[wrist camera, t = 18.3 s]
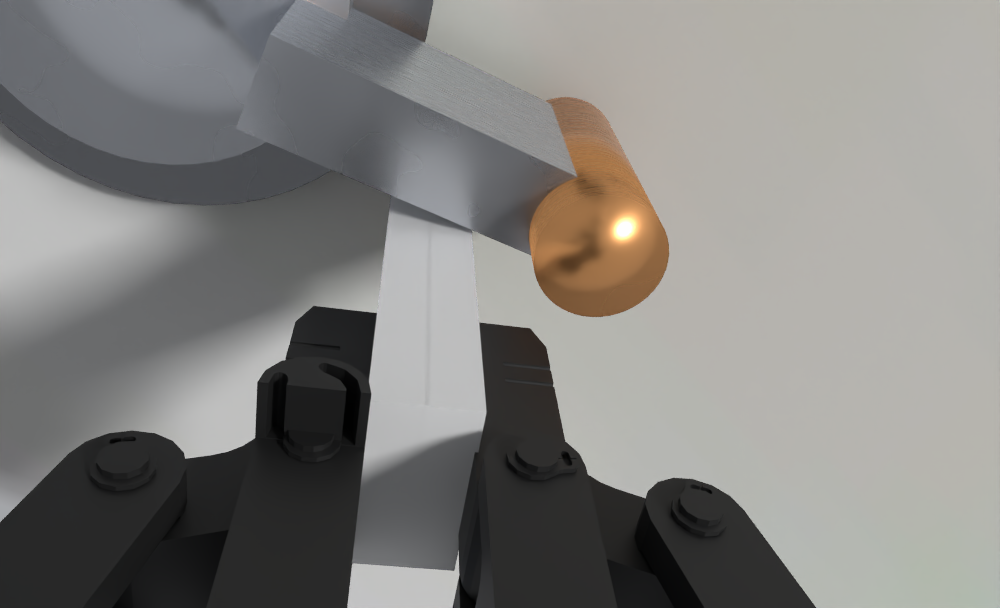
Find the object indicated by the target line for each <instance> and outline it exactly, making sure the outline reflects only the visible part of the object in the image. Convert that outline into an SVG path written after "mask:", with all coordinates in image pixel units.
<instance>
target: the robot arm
mask: <svg viewBox="0 0 1000 608" xmlns="http://www.w3.org/2000/svg"><path fill="white" fill-rule="evenodd" d="M458 550H459V574H460V575H459V580H458V585H457V590H456V595H455V599H454V604H453V608H816V607H815V606H814V604H813V603H812V601H811V600H810V599H809V597H808V596H807V595H806V593H805V592H804V591H803V589H802V588H801V587H800V585H799V584H798V583H797V581H796V580H795V579H794V577H793V576H792V574H791V573H790V572H789V570H788V569H787V568H786V566H785V565H784V564H783V562H782V561H781V560H780V558H779V557H778V556H777V554H776V553H775V552H774V550H773V549H772V547H771V546H770V545H769V543H768V542H767V541H766V539H765V538H764V537H763V535H762V534H761V533H760V531H759V530H758V529H757V527H756V526H755V525H754V523H753V522H752V520H751V519H750V518H749V516H748V515H747V514H746V512H745V511H744V510H743V509H742V508H741V507H740V506H739V505H738V504H737V503H736V502H735V501H734V500H733V499H732V498H731V497H730V496H729V495H727V494H726V493H724V492H722V491H720V490H719V489H717V488H715V487H714V486H712V485H709V484H706V483H703V482H700V481H696V480H693V479H682V478H672V479H668V480H664V481H660V482H658V483H657V484H655V485H654V486H653V487H652V488H651V489H650V490H649V491H648V493H647V496H646V499H645V498H642V497H639V496H636V495H633V494H630V493H627V492H624V491H621V490H618V489H615V488H613V487H610V486H608V485H605V484H603V483H601V482H599V481H597V480H596V479H594V478H592V477H591V476H589V475H588V474H587V470H586V466H585V464H584V462H583V460H582V458H581V456H580V454H579V453H578V452H577V451H576V450H574V449H573V448H572V447H571V446H570V445H569V444H568V443H567V442H565V438H564V433H563V428H562V423H561V419H560V414H559V409H558V404H557V399H556V394H555V389H554V387H553V379H552V374H551V371H550V364H549V359H548V354H547V349H546V347H545V345H544V344H543V343H542V342H541V341H540V340H539V338H538V337H537V336H536V335H535V334H534V333H533V331H532V330H531V329H530V328H521V327H512V326H504V325H495V324H486V323H479V314H478V302H477V290H476V278H475V266H474V254H473V242H472V230H471V229H469V228H466V227H464V226H462V225H459V224H457V223H455V222H452V221H450V220H448V219H445V218H443V217H441V216H438V215H436V214H434V213H431V212H429V211H427V210H424V209H422V208H420V207H417V206H415V205H413V204H410V203H408V202H406V201H403V200H401V199H399V198H396V197H394V196H392V195H391V200H390V209H389V217H388V225H387V234H386V242H385V251H384V259H383V267H382V276H381V284H380V292H379V301H378V309H377V313H370V312H362V311H353V310H344V309H335V308H327V307H318V306H313V307H312V308H311V309H310V310H309V311H307V312H306V313H305V314H304V315H303V316H302V317H301V318H299V319H298V320H297V321H296V322H295V326H294V330H293V333H292V337H291V341H290V345H289V348H288V351H287V355H286V360H285V361H281V362H279V363H277V364H275V365H274V366H272V367H270V368H269V369H267V370H266V371H265V372H264V373H263V375H262V376H261V378H260V379H259V381H258V385H257V410H256V435H255V439H253V440H252V441H250V442H249V443H247V444H245V445H244V446H242V447H239V448H237V449H234V450H232V451H229V452H225V453H220V454H216V455H211V456H204V457H196V458H188V459H185V456H184V453H183V451H182V450H181V449H180V448H179V447H178V446H177V445H176V444H175V443H174V442H173V441H171V440H169V439H167V438H164V437H162V436H160V435H157V434H155V433H147V432H139V431H126V432H117V433H109V434H106V435H103V436H100V437H97V438H95V439H92V440H89V441H86V442H85V443H83V444H82V445H81V446H79V447H78V448H76V449H75V450H73V451H72V452H71V453H69V454H68V455H67V456H66V457H65V458H64V459H63V460H62V461H61V462H60V463H59V464H58V465H57V466H56V467H55V468H54V469H53V470H52V471H51V472H50V473H49V474H48V475H47V476H46V477H45V478H44V479H43V480H42V481H41V482H40V483H39V484H38V485H37V486H36V487H35V488H34V489H33V490H32V491H31V492H30V493H29V494H28V495H27V496H26V497H25V498H24V499H23V500H22V501H21V502H20V503H19V504H18V505H17V506H16V507H15V508H14V509H13V510H12V511H11V512H10V513H9V514H8V515H7V516H6V517H5V518H4V519H3V520H2V521H1V522H0V608H347V603H348V594H349V585H350V577H351V568H352V563H358V564H371V565H385V566H399V567H411V568H425V569H439V570H453V571H454V569H455V564H456V560H457V555H458Z"/></svg>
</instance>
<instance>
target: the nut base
mask: <svg viewBox="0 0 1000 608" xmlns="http://www.w3.org/2000/svg"><path fill="white" fill-rule="evenodd" d="M432 4H433V0H354V1H353V7H352V8H354V9H357V10H359V11H361V12H363V13H365V14H367V15H369V16H371V17H373V18H375V19H377V20H379V21H381V22H383V23H385V24H387V25H389V26H392V27H394V28H396V29H398V30H400V31H402V32H404V33H406V34H408V35H410V36H412V37H414V38H416V39H418V40H420V41H422V42H425V39H426V36H427V31H428V25H429V20H430V15H431V10H432ZM0 121H1V122H2V123H3V124H5V125H6V126H7V127H8V128H9V129H10V130H12V131H13V132H14V133H15V134H16V135H17V136H19V137H20V138H21V139H23V140H24V141H26V142H27V143H29V144H30V145H31V146H33V147H34V148H36V149H37V150H39V151H40V152H42V153H43V154H44V155H46V156H47V157H49V158H50V159H52V160H54V161H56V162H58V163H60V164H61V165H63V166H65V167H67V168H69V169H71V170H72V171H74V172H76V173H78V174H80V175H82V176H84V177H87V178H89V179H91V180H94V181H96V182H99V183H101V184H103V185H106V186H108V187H110V188H114V189H117V190H120V191H123V192H127V193H130V194H133V195H137V196H140V197H144V198H149V199H155V200H160V201H166V202H171V203H181V204H195V205H219V204H236V203H242V202H248V201H254V200H259V199H265V198H268V197H271V196H275V195H278V194H281V193H284V192H288V191H291V190H293V189H296V188H298V187H300V186H302V185H304V184H307V183H309V182H311V181H313V180H315V179H317V178H319V177H321V176H323V175H324V174H326V173H327V172H329V171H330V170H331V169H329V168H326V167H324V166H321V165H319V164H317V163H314V162H312V161H310V160H307V159H305V158H303V157H300V156H298V155H296V154H293V153H291V152H289V151H286V150H284V149H282V148H279V147H277V146H275V145H272V144H270V143H268V142H265V143H264V144H262V145H260V146H258V147H256V148H254V149H251V150H249V151H247V152H244V153H242V154H240V155H237V156H233V157H230V158H226V159H222V160H219V161H214V162H206V163H199V164H183V165H167V164H158V163H148V162H142V161H137V160H133V159H128V158H124V157H120V156H117V155H114V154H111V153H108V152H105V151H102V150H99V149H96V148H94V147H92V146H89V145H87V144H85V143H83V142H81V141H79V140H77V139H74V138H72V137H70V136H69V135H67V134H65V133H64V132H62V131H60V130H59V129H57V128H55V127H54V126H52V125H50V124H49V123H47V122H46V121H44V120H43V119H42V118H40V117H39V116H38V115H36V114H35V113H34V112H32V111H31V110H30V109H28V108H27V107H26V106H24V105H23V104H22V103H21V102H20V101H19V100H18V99H17V98H16V97H15V96H13V95H12V94H11V93H10V92H9V91H8V90H7V89H6V88H5V87H4V86H3V85H2V84H1V83H0Z"/></svg>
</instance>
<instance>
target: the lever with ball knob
mask: <svg viewBox="0 0 1000 608" xmlns="http://www.w3.org/2000/svg"><path fill="white" fill-rule="evenodd" d="M353 1H354V0H0V83H1V84H2V85H3V86H4V87H5V88H6V89H7V90H8V91H9V92H10V93H11V94H12V95H13V96H15V97H16V98H17V99H18V100H19V101H20V102H21V103H22V104H23V105H24V106H26V107H27V108H28V109H30V110H31V111H32V112H34V113H35V114H36V115H38V116H39V117H40V118H42V119H43V120H44V121H46V122H47V123H49V124H50V125H52V126H54V127H55V128H57V129H59V130H60V131H62V132H64V133H65V134H67V135H69V136H70V137H72V138H74V139H77V140H79V141H81V142H83V143H85V144H87V145H89V146H92V147H94V148H96V149H99V150H102V151H105V152H108V153H111V154H114V155H117V156H120V157H124V158H128V159H133V160H137V161H142V162H148V163H158V164H167V165H183V164H199V163H206V162H214V161H219V160H222V159H226V158H230V157H233V156H237V155H240V154H242V153H244V152H247V151H249V150H251V149H254V148H256V147H258V146H260V145H262V144H264V143H265V142H268V143H270V144H272V145H275V146H277V147H279V148H282V149H284V150H286V151H289V152H291V153H293V154H296V155H298V156H300V157H303V158H305V159H307V160H310V161H312V162H314V163H317V164H319V165H321V166H324V167H326V168H329V169H331V170H333V171H336V172H338V173H340V174H343V175H345V176H347V177H350V178H352V179H354V180H357V181H359V182H361V183H364V184H366V185H368V186H371V187H373V188H375V189H378V190H380V191H382V192H385V193H387V194H389V195H392V196H394V197H396V198H399V199H401V200H403V201H406V202H408V203H410V204H413V205H415V206H417V207H420V208H422V209H424V210H427V211H429V212H431V213H434V214H436V215H438V216H441V217H443V218H445V219H448V220H450V221H452V222H455V223H457V224H459V225H462V226H464V227H466V228H469V229H471V230H473V231H476V232H478V233H480V234H483V235H485V236H487V237H490V238H492V239H494V240H497V241H499V242H501V243H504V244H506V245H508V246H511V247H513V248H515V249H518V250H520V251H522V252H525V253H527V254H529V255H531V256H532V261H533V266H534V271H535V275H536V279H537V281H538V283H539V286H540V287H541V289H542V291H543V292H544V293H545V295H546V296H547V297H548V298H549V299H550V300H551V301H552V302H553V303H554V304H556V305H557V306H559V307H560V308H562V309H564V310H566V311H568V312H571V313H574V314H577V315H581V316H588V317H603V316H610V315H614V314H618V313H621V312H623V311H626V310H628V309H630V308H632V307H634V306H636V305H637V304H639V303H640V302H642V301H643V300H644V299H645V298H647V297H648V296H649V295H650V294H651V293H652V292H653V291H654V289H655V288H656V287H657V285H658V284H659V282H660V281H661V279H662V277H663V275H664V273H665V270H666V267H667V263H668V257H669V244H668V238H667V235H666V232H665V230H664V228H663V226H662V224H661V222H660V220H659V218H658V216H657V214H656V212H655V210H654V208H653V207H652V205H651V203H650V201H649V199H648V197H647V195H646V193H645V191H644V189H643V187H642V185H641V184H640V182H639V180H638V178H637V176H636V174H635V172H634V170H633V168H632V166H631V164H630V162H629V161H628V159H627V157H626V155H625V153H624V151H623V149H622V147H621V145H620V143H619V141H618V140H617V138H616V136H615V134H614V132H613V130H612V128H611V126H610V124H609V122H608V120H607V119H606V117H605V116H604V115H603V114H602V112H601V111H600V110H599V109H597V108H596V107H595V106H593V105H592V104H590V103H588V102H586V101H583V100H580V99H577V98H570V97H561V98H554V99H551V100H547V101H544V100H542V99H540V98H538V97H536V96H534V95H531V94H529V93H527V92H525V91H523V90H521V89H519V88H517V87H515V86H513V85H511V84H509V83H507V82H505V81H503V80H501V79H499V78H496V77H494V76H492V75H490V74H488V73H486V72H484V71H482V70H480V69H478V68H476V67H474V66H472V65H470V64H468V63H466V62H464V61H461V60H459V59H457V58H455V57H453V56H451V55H449V54H447V53H445V52H443V51H441V50H439V49H437V48H435V47H433V46H431V45H429V44H426V43H424V42H422V41H420V40H418V39H416V38H414V37H412V36H410V35H408V34H406V33H404V32H402V31H400V30H398V29H396V28H394V27H392V26H389V25H387V24H385V23H383V22H381V21H379V20H377V19H375V18H373V17H371V16H369V15H367V14H365V13H363V12H361V11H359V10H357V9H354V8H352V7H353Z"/></svg>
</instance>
